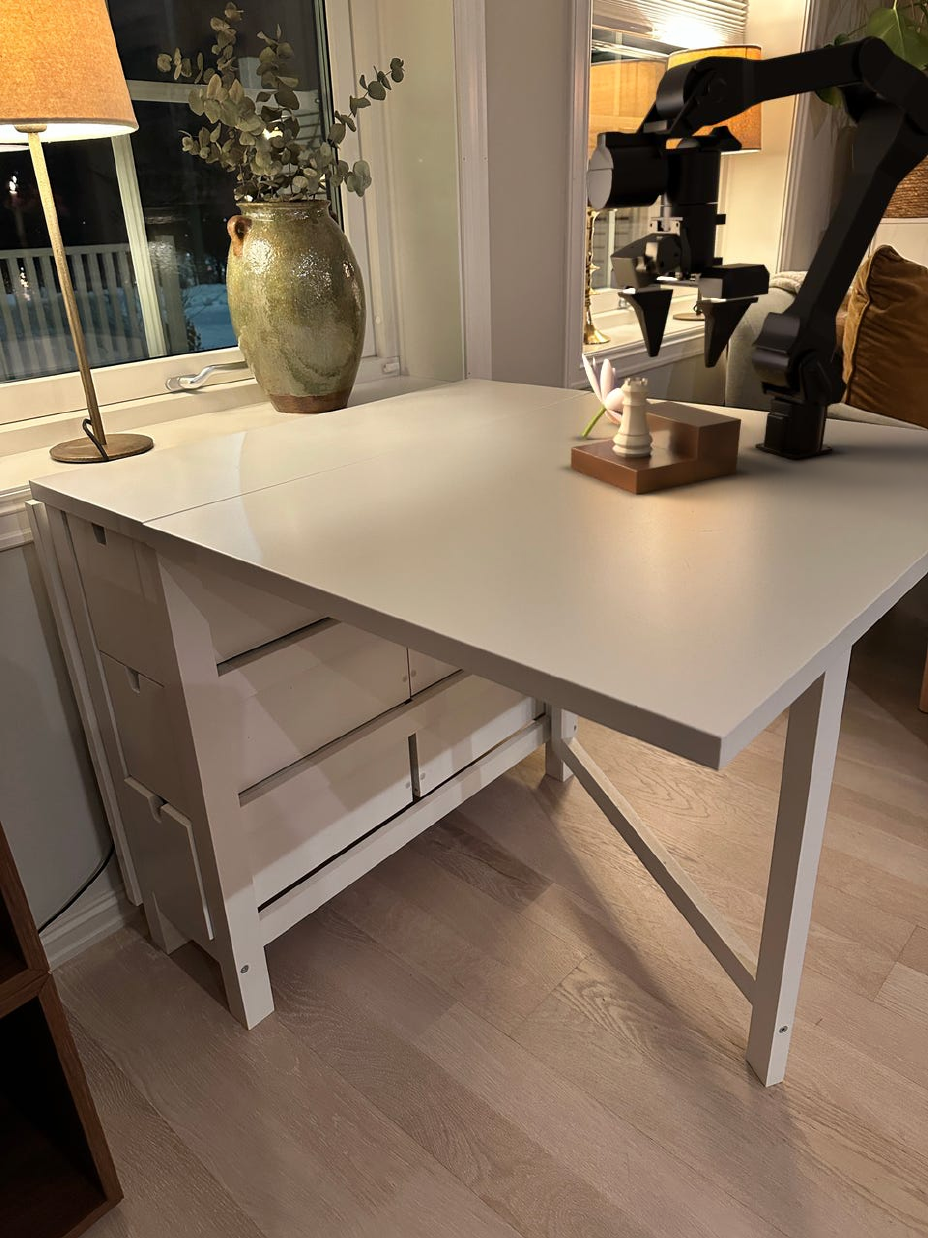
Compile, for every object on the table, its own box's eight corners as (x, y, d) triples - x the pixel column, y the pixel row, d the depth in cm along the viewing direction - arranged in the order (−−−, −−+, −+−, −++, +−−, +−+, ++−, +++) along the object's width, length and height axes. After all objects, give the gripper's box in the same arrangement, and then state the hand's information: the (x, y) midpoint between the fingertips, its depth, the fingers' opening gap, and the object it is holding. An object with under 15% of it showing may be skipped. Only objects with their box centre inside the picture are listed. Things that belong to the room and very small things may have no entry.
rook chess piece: (643, 460, 95) (648, 384, 92) (605, 455, 98) (608, 381, 94) (659, 450, 99) (663, 377, 95) (621, 446, 101) (624, 374, 98)
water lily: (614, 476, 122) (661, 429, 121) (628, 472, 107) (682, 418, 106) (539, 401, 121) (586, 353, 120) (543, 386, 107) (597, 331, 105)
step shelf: (665, 450, 108) (668, 400, 106) (736, 472, 99) (741, 419, 96) (570, 468, 102) (571, 416, 100) (635, 494, 93) (638, 437, 90)
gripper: (570, 210, 94) (570, 360, 101) (690, 207, 79) (680, 384, 86) (653, 204, 99) (647, 348, 105) (781, 201, 84) (765, 369, 91)
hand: (680, 361), depth 97 cm, fingers open, 9 cm apart
